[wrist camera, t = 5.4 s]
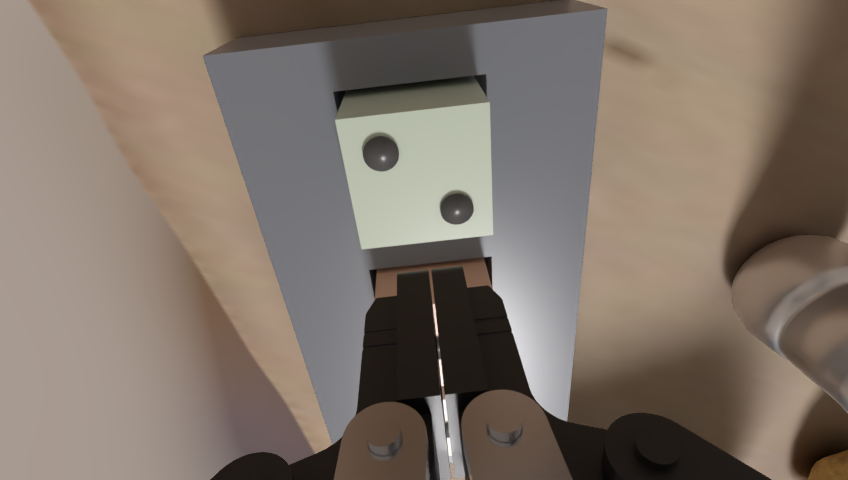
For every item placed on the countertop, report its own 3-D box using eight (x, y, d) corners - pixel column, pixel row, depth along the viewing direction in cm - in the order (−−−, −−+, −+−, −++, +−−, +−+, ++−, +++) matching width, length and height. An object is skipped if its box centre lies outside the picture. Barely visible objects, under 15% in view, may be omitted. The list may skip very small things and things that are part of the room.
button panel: (236, 37, 19) (202, 55, 16) (570, -2, 19) (607, 8, 16) (348, 419, 33) (342, 474, 29) (546, 398, 32) (564, 451, 29)
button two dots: (347, 85, 19) (334, 121, 15) (471, 71, 19) (490, 103, 15) (368, 196, 21) (361, 251, 17) (476, 184, 21) (493, 236, 17)
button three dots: (378, 250, 23) (373, 312, 19) (478, 239, 23) (495, 299, 19) (391, 326, 26) (390, 393, 22) (482, 316, 26) (497, 382, 22)
